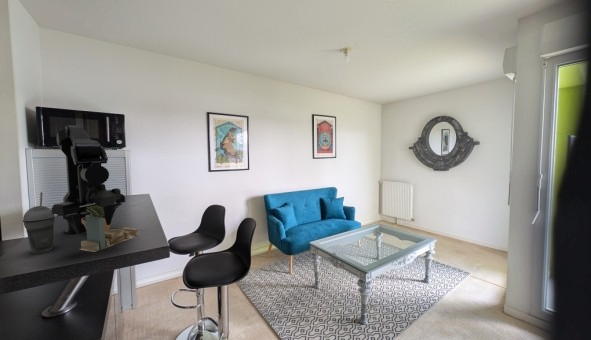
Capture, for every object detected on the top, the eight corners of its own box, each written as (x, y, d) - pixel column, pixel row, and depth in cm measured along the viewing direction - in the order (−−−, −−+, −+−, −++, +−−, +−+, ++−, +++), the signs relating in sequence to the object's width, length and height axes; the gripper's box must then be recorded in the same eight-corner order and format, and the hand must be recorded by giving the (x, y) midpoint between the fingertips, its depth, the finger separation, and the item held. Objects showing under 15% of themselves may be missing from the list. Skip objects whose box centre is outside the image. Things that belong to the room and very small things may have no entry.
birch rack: (95, 255, 79) (94, 244, 79) (79, 252, 81) (78, 242, 81) (140, 237, 94) (139, 228, 94) (126, 236, 96) (125, 226, 96)
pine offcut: (112, 239, 85) (111, 234, 85) (99, 238, 86) (98, 233, 86) (123, 234, 89) (123, 229, 89) (110, 233, 90) (110, 229, 90)
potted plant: (76, 238, 94) (70, 173, 92) (99, 230, 104) (95, 170, 101) (98, 240, 92) (93, 173, 90) (120, 231, 102) (116, 170, 100)
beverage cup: (35, 251, 83) (28, 191, 81) (63, 248, 85) (57, 189, 84) (20, 260, 76) (13, 195, 74) (51, 256, 79) (44, 193, 77)
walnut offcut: (111, 245, 84) (110, 239, 84) (98, 243, 86) (97, 238, 86) (125, 239, 89) (124, 234, 89) (112, 238, 91) (112, 233, 91)
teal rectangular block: (101, 249, 81) (98, 219, 80) (87, 247, 83) (85, 217, 82) (105, 247, 82) (103, 217, 81) (92, 245, 84) (90, 216, 83)
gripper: (74, 187, 69) (79, 242, 71) (135, 178, 87) (138, 223, 88) (47, 185, 73) (53, 238, 74) (112, 178, 90) (115, 220, 92)
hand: (94, 229), depth 82 cm, fingers open, 9 cm apart
